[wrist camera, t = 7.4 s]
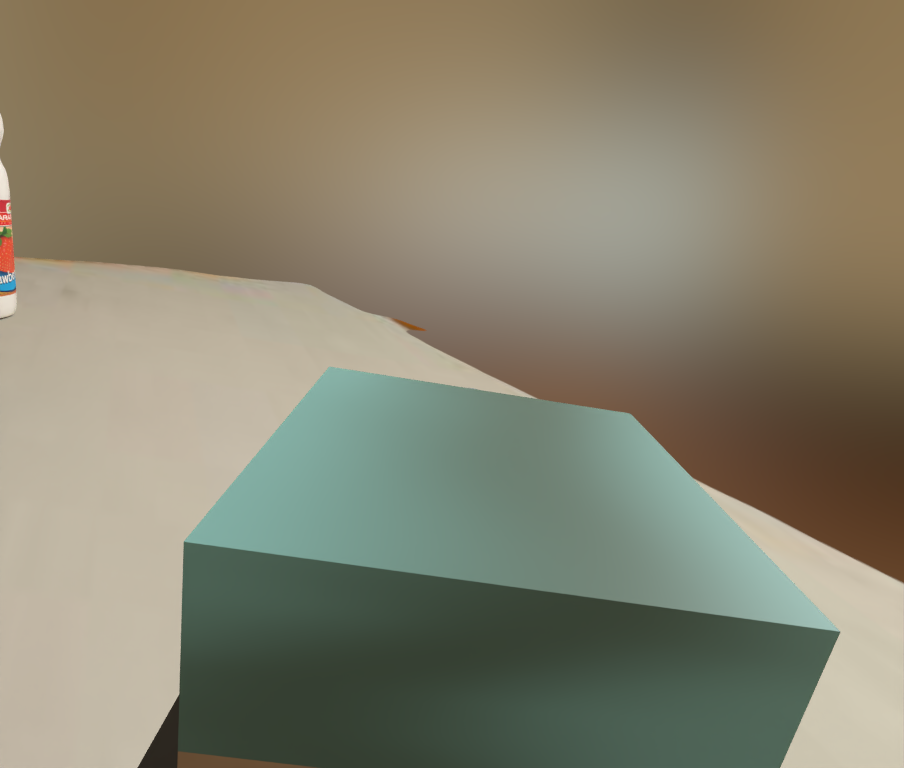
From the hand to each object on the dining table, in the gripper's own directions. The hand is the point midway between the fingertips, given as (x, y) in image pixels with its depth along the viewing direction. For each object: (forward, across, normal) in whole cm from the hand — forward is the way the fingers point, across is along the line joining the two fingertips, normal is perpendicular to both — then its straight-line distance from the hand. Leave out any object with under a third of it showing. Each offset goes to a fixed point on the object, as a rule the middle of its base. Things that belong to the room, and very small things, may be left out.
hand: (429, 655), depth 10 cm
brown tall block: (-3, 0, +6) cm, 7 cm away
